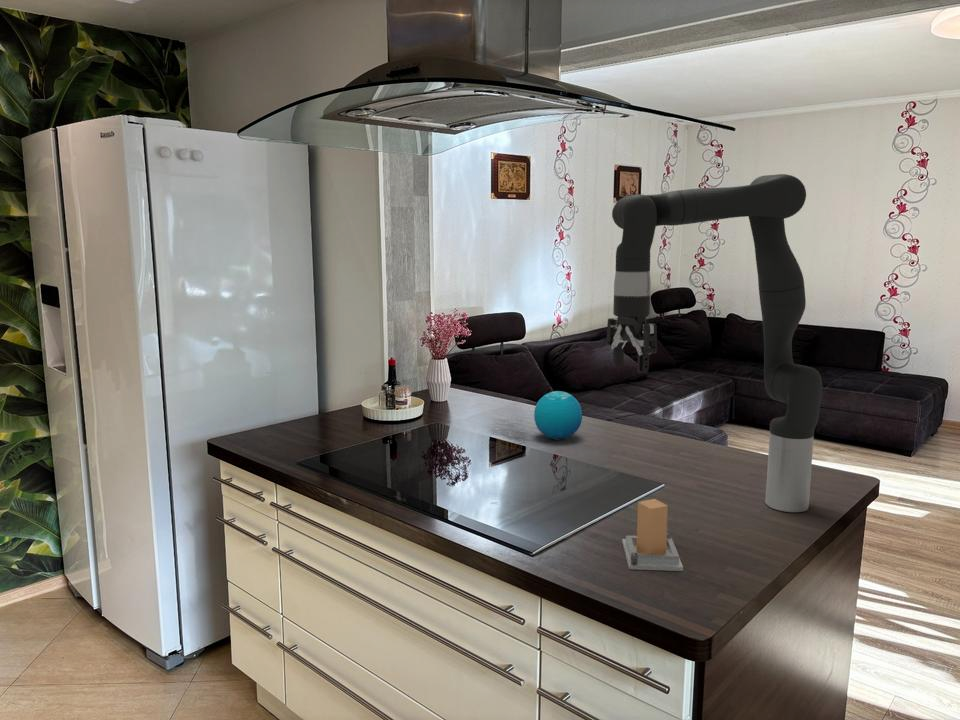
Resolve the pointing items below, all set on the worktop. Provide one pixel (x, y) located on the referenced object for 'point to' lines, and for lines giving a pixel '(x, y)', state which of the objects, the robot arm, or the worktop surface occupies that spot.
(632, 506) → the worktop surface
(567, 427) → the decorative orb
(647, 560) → the plate
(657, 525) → the tan block
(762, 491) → the worktop surface
